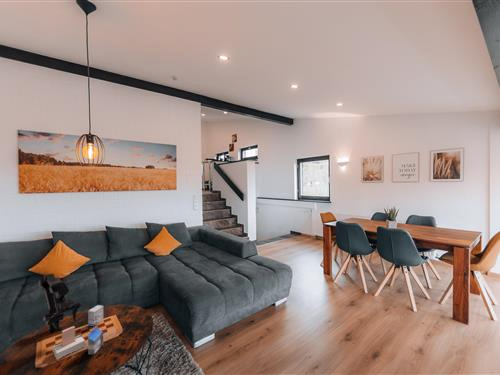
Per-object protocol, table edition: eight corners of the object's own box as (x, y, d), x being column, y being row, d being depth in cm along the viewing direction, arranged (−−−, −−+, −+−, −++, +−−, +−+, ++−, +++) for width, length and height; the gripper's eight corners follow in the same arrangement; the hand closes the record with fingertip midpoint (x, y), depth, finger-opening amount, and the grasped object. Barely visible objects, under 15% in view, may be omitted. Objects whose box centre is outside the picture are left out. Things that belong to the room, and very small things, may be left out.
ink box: (93, 328, 165) (93, 311, 165) (88, 327, 166) (87, 310, 166) (103, 320, 174) (103, 305, 173) (98, 320, 175) (97, 304, 174)
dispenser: (52, 353, 141) (52, 346, 141) (80, 340, 152) (80, 334, 152) (57, 360, 136) (56, 352, 136) (85, 346, 147) (85, 339, 147)
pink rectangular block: (62, 351, 143) (61, 330, 142) (74, 346, 147) (73, 325, 147) (63, 353, 141) (62, 332, 141) (75, 347, 146) (74, 327, 146)
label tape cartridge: (94, 354, 140) (94, 334, 140) (87, 354, 140) (87, 334, 140) (103, 344, 149) (103, 325, 149) (97, 344, 149) (97, 325, 149)
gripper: (44, 302, 142) (50, 328, 137) (80, 290, 157) (86, 313, 152) (41, 309, 148) (45, 334, 142) (76, 297, 163) (81, 319, 157)
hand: (66, 324), depth 148 cm, fingers open, 9 cm apart
